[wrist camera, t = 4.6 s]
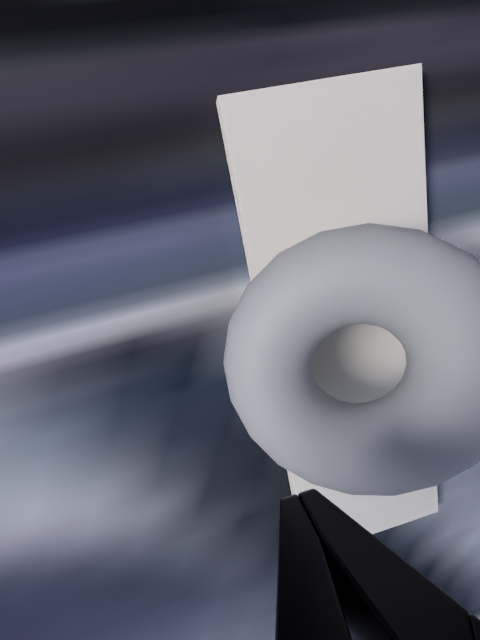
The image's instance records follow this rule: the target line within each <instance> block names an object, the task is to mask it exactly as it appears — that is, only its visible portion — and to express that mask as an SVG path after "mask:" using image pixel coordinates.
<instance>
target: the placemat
mask: <svg viewBox="0 0 480 640" xmlns="http://www.w3.org/2000/svg"><path fill="white" fill-rule="evenodd" d="M216 105H217V110H218V115H219V121H220V126H221V131H222V136H223V141H224V146H225V152H226V157H227V162H228V167H229V172H230V178H231V183H232V188H233V193H234V198H235V203H236V209H237V214H238V219H239V224H240V229H241V234H242V240H243V245H244V250H245V255H246V260H247V266H248V271H249V276H250V281H252V280H253V279H254V278H255V277H256V276H257V275H258V274H259V273H260V272H261V271H262V270H263V269H264V268H265V266H266V265H267V264H268V263H269V262H270V261H271V260H272V259H273V258H274V257H275V256H276V255H277V254H278V253H280V252H282V251H284V250H286V249H288V248H290V247H292V246H294V245H296V244H298V243H299V242H301V241H303V240H305V239H307V238H309V237H311V236H313V235H315V234H317V233H319V232H321V231H327V230H332V229H338V228H344V227H349V226H355V225H361V224H366V223H374V224H382V225H389V226H397V227H404V228H411V229H419V230H422V231H424V232H426V233H428V219H427V192H426V165H425V138H424V111H423V84H422V63H418V64H412V65H406V66H400V67H393V68H387V69H381V70H375V71H368V72H362V73H356V74H350V75H343V76H337V77H331V78H325V79H318V80H312V81H306V82H300V83H293V84H287V85H281V86H275V87H268V88H262V89H256V90H250V91H243V92H237V93H231V94H225V95H218V96H217V100H216ZM311 367H312V375H313V377H314V379H315V381H316V383H317V385H318V386H319V387H320V388H321V389H322V390H323V391H324V392H325V393H326V394H328V395H330V396H332V397H334V398H336V399H337V400H340V401H344V402H349V403H363V402H370V401H373V400H376V399H379V398H382V397H384V396H385V395H386V394H388V393H389V392H391V391H392V390H393V389H394V388H395V387H396V386H397V384H398V383H399V382H400V380H401V379H402V377H403V374H404V371H405V367H406V353H405V350H404V348H403V346H402V344H401V342H400V341H399V340H398V339H397V338H396V337H395V336H394V335H393V334H392V333H391V332H389V331H387V330H385V329H384V328H382V327H379V326H374V325H368V324H357V325H347V326H345V327H342V328H340V329H338V330H335V331H333V332H331V333H330V334H329V335H327V336H326V337H325V338H324V339H323V340H321V341H320V342H319V344H318V345H317V347H316V349H315V350H314V352H313V357H312V361H311ZM287 473H288V478H289V483H290V488H291V493H292V495H294V494H296V495H297V496H298V494H299V493H300V492H303V491H307V490H310V489H316V490H317V491H318V492H320V493H321V494H322V495H323V496H325V497H326V498H327V499H328V500H330V501H331V502H332V503H334V504H335V505H336V506H337V507H339V508H340V509H341V510H342V511H344V512H345V513H346V514H347V515H349V516H350V517H351V518H352V519H354V520H355V521H356V522H357V523H359V524H360V525H361V526H362V527H364V528H365V529H366V530H367V531H369V532H370V533H371V534H374V533H377V532H380V531H383V530H386V529H389V528H392V527H395V526H398V525H401V524H404V523H407V522H410V521H413V520H416V519H419V518H422V517H425V516H427V515H430V514H433V513H436V512H438V491H437V486H433V487H429V488H425V489H421V490H417V491H413V492H408V493H404V494H400V495H396V496H379V495H350V494H347V493H343V492H339V491H336V490H332V489H328V488H325V487H321V486H317V485H314V484H311V483H309V482H308V481H306V480H304V479H302V478H301V477H299V476H297V475H295V474H294V473H292V472H290V471H288V470H287Z"/></svg>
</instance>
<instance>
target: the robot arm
mask: <svg viewBox="0 0 480 640" xmlns="http://www.w3.org/2000/svg"><path fill="white" fill-rule="evenodd" d="M275 640H480V620H479V619H478V618H477V617H476V616H474V615H473V614H470V615H469V614H468V611H467V610H466V609H465V608H464V607H463V606H462V605H460V604H459V603H458V602H457V601H455V600H454V599H453V598H452V597H450V596H449V595H448V594H447V593H445V592H444V591H443V590H441V589H440V588H439V587H438V586H436V585H435V584H434V583H433V582H431V581H430V580H429V579H428V578H426V577H425V576H424V575H423V574H421V573H420V572H419V571H418V570H416V569H415V568H414V567H413V566H411V565H410V564H409V563H408V562H406V561H405V560H404V559H403V558H401V557H400V556H399V555H398V554H396V553H395V552H394V551H393V550H391V549H390V548H389V547H387V546H386V545H385V544H384V543H382V542H381V541H380V540H379V539H377V538H376V537H375V536H374V535H372V534H371V533H370V532H369V531H367V530H366V529H365V528H364V527H362V526H361V525H360V524H359V523H357V522H356V521H355V520H354V519H352V518H351V517H350V516H349V515H347V514H346V513H345V512H344V511H342V510H341V509H340V508H339V507H337V506H336V505H335V504H334V503H332V502H331V501H330V500H328V499H327V498H326V497H325V496H323V495H322V494H321V493H320V492H318V491H317V490H316V489H310V490H307V491H303V492H300V493H299V494H298V496H297V495H296V494H294V495H290V496H287V497H284V498H282V499H281V501H280V521H279V549H278V577H277V605H276V633H275Z"/></svg>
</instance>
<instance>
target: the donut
mask: <svg viewBox="0 0 480 640" xmlns="http://www.w3.org/2000/svg"><path fill="white" fill-rule="evenodd" d="M357 324H368V325H374V326H379V327H382V328H384V329H385V330H387V331H389V332H391V333H392V334H393V335H394V336H395V337H396V338H397V339H398V340H399V341H400V342H401V344H402V346H403V348H404V350H405V353H406V367H405V371H404V374H403V377H402V379H401V380H400V382H399V383H398V384H397V386H396V387H395V388H394V389H393V390H392V391H391V392H389V393H388V394H386V395H385V396H384V397H382V398H379V399H376V400H373V401H370V402H363V403H349V402H344V401H340V400H337V399H336V398H334V397H332V396H330V395H328V394H326V393H325V392H324V391H323V390H322V389H321V388H320V387H319V386H318V385H317V383H316V381H315V379H314V377H313V375H312V367H311V361H312V357H313V352H314V350H315V349H316V347H317V345H318V344H319V342H320V341H321V340H323V339H324V338H325V337H326V336H327V335H329V334H330V333H331V332H333V331H335V330H338V329H340V328H342V327H345V326H347V325H357ZM223 364H224V369H225V374H226V380H227V385H228V390H229V395H230V400H231V402H232V404H233V406H234V408H235V409H236V411H237V413H238V415H239V417H240V419H241V421H242V422H243V424H244V426H245V428H246V430H247V432H248V433H249V435H250V437H251V438H252V439H253V440H254V441H255V442H256V443H257V444H258V445H259V446H260V447H261V448H262V449H263V450H264V451H265V452H266V453H267V454H268V455H269V456H270V457H271V458H272V459H273V460H274V461H275V462H276V463H277V464H278V465H280V466H281V467H283V468H285V469H287V470H288V471H290V472H292V473H294V474H295V475H297V476H299V477H301V478H302V479H304V480H306V481H308V482H309V483H311V484H314V485H317V486H321V487H325V488H328V489H332V490H336V491H339V492H343V493H347V494H350V495H379V496H396V495H400V494H404V493H408V492H413V491H417V490H421V489H425V488H429V487H433V486H437V485H439V484H441V483H443V482H445V481H446V480H448V479H450V478H452V477H454V476H455V475H457V474H459V473H461V472H463V471H464V470H466V469H468V468H470V467H471V466H473V465H475V464H477V463H478V462H479V460H480V263H479V262H478V261H477V260H476V259H475V257H474V256H473V255H471V254H469V253H467V252H465V251H463V250H461V249H459V248H457V247H455V246H453V245H451V244H449V243H447V242H445V241H443V240H441V239H439V238H437V237H435V236H433V235H430V234H428V233H426V232H424V231H422V230H419V229H411V228H404V227H397V226H389V225H382V224H374V223H366V224H361V225H355V226H349V227H344V228H338V229H332V230H327V231H321V232H319V233H317V234H315V235H313V236H311V237H309V238H307V239H305V240H303V241H301V242H299V243H298V244H296V245H294V246H292V247H290V248H288V249H286V250H284V251H282V252H280V253H278V254H277V255H276V256H275V257H274V258H273V259H272V260H271V261H270V262H269V263H268V264H267V265H266V266H265V268H264V269H263V270H262V271H261V272H260V273H259V274H258V275H257V276H256V277H255V278H254V279H253V280H252V281H251V282H250V283H249V284H248V285H247V287H246V289H245V291H244V293H243V295H242V297H241V299H240V301H239V303H238V305H237V307H236V309H235V311H234V313H233V315H232V317H231V319H230V322H229V325H228V332H227V340H226V347H225V354H224V362H223Z"/></svg>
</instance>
